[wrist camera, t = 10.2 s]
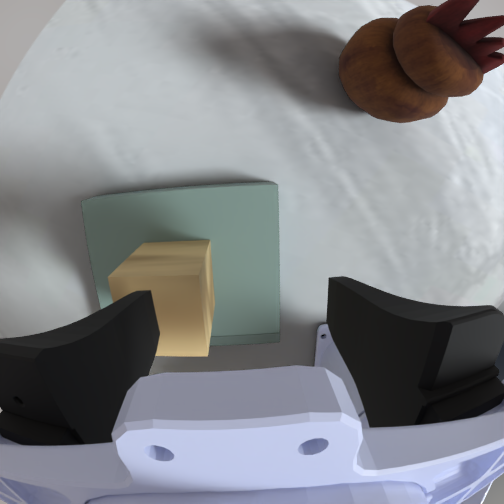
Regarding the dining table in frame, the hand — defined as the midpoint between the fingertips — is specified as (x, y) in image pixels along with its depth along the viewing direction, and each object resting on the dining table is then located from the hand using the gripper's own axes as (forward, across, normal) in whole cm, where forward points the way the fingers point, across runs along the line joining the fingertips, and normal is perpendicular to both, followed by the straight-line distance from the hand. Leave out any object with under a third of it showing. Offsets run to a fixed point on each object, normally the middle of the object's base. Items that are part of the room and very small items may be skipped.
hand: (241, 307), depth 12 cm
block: (+8, +4, +1) cm, 9 cm away
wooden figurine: (+11, -10, -11) cm, 19 cm away
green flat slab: (+11, +4, +1) cm, 11 cm away
